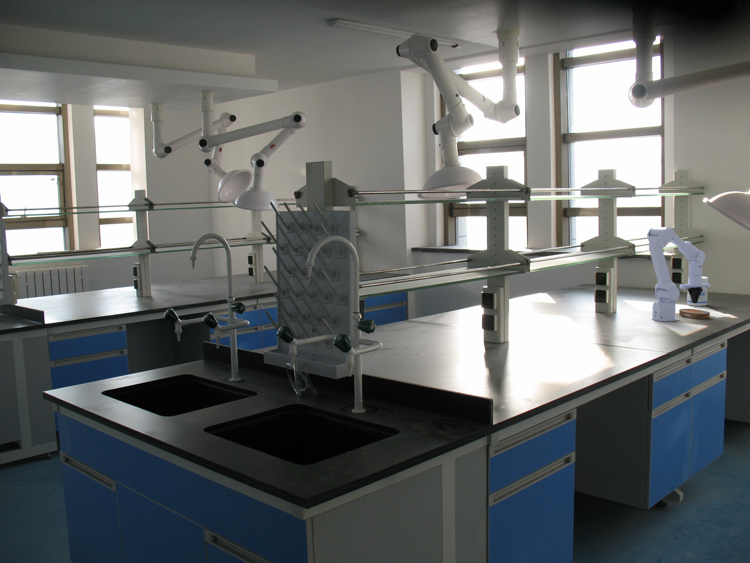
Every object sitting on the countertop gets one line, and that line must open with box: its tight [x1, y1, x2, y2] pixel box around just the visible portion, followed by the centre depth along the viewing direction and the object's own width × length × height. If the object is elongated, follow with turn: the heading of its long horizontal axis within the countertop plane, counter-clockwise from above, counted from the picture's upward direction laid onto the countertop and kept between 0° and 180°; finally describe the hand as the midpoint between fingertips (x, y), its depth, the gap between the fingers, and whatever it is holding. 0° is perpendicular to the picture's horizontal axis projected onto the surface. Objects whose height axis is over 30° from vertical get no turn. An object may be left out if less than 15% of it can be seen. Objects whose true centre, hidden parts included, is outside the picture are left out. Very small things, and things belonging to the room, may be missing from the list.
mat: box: [708, 310, 731, 319], centre depth 324 cm, size 7×15×1 cm, turn 7°
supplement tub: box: [686, 276, 709, 307], centre depth 351 cm, size 10×10×15 cm
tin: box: [678, 308, 711, 320], centre depth 321 cm, size 15×3×8 cm
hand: (694, 303), depth 322 cm, fingers closed
